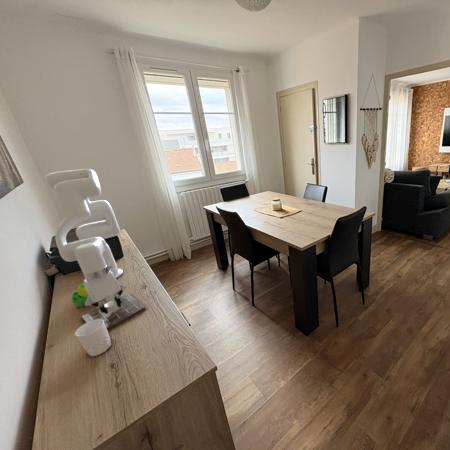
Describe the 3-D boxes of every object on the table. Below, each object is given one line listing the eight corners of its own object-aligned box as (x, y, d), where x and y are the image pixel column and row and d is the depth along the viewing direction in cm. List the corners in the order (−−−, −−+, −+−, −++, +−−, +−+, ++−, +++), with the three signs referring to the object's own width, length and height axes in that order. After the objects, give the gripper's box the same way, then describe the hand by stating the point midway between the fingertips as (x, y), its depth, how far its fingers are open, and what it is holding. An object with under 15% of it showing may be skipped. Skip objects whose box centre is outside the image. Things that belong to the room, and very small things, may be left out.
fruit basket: (107, 292, 120) (98, 273, 115) (105, 301, 113) (96, 281, 109) (77, 301, 114) (67, 281, 110) (74, 312, 107) (63, 291, 103)
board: (82, 318, 103) (81, 316, 102) (129, 295, 116) (128, 293, 116) (96, 336, 93) (95, 334, 92) (145, 309, 106) (144, 307, 105)
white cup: (83, 361, 82) (71, 339, 79) (89, 345, 89) (79, 324, 85) (111, 351, 86) (100, 330, 82) (115, 336, 92) (105, 316, 89)
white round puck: (104, 310, 103) (102, 304, 102) (116, 304, 106) (114, 299, 105) (108, 314, 100) (105, 308, 99) (120, 308, 104) (118, 302, 103)
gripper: (117, 261, 105) (130, 295, 112) (67, 280, 92) (85, 317, 99) (124, 266, 101) (137, 301, 107) (72, 286, 88) (91, 325, 95)
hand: (112, 308), depth 103 cm, fingers closed on white round puck, 4 cm apart
